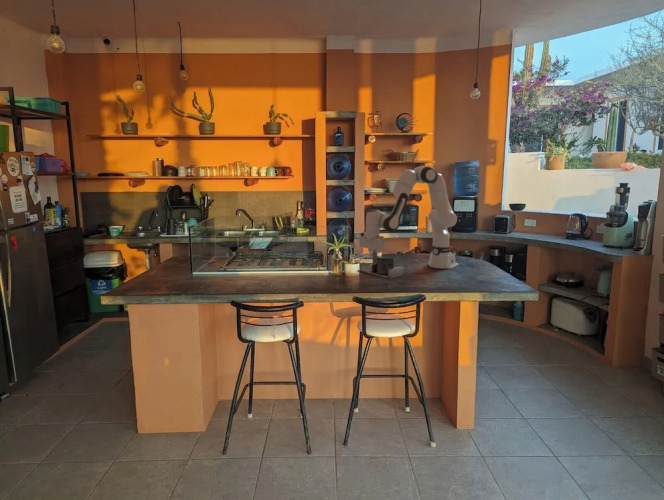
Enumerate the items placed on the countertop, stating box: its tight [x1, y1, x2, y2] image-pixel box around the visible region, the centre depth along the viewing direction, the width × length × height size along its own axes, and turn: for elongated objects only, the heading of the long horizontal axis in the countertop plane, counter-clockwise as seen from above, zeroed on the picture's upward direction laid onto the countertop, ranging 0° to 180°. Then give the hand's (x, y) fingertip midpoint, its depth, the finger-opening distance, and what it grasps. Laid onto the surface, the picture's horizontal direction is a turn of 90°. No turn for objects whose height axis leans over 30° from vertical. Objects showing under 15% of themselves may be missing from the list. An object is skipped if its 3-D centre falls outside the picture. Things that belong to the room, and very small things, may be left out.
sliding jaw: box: [369, 251, 378, 274], centre depth 287 cm, size 12×4×12 cm, turn 133°
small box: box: [376, 256, 395, 276], centre depth 282 cm, size 11×6×10 cm, turn 84°
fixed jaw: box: [359, 265, 405, 279], centre depth 285 cm, size 16×26×6 cm, turn 43°
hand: (371, 255), depth 290 cm, fingers closed
